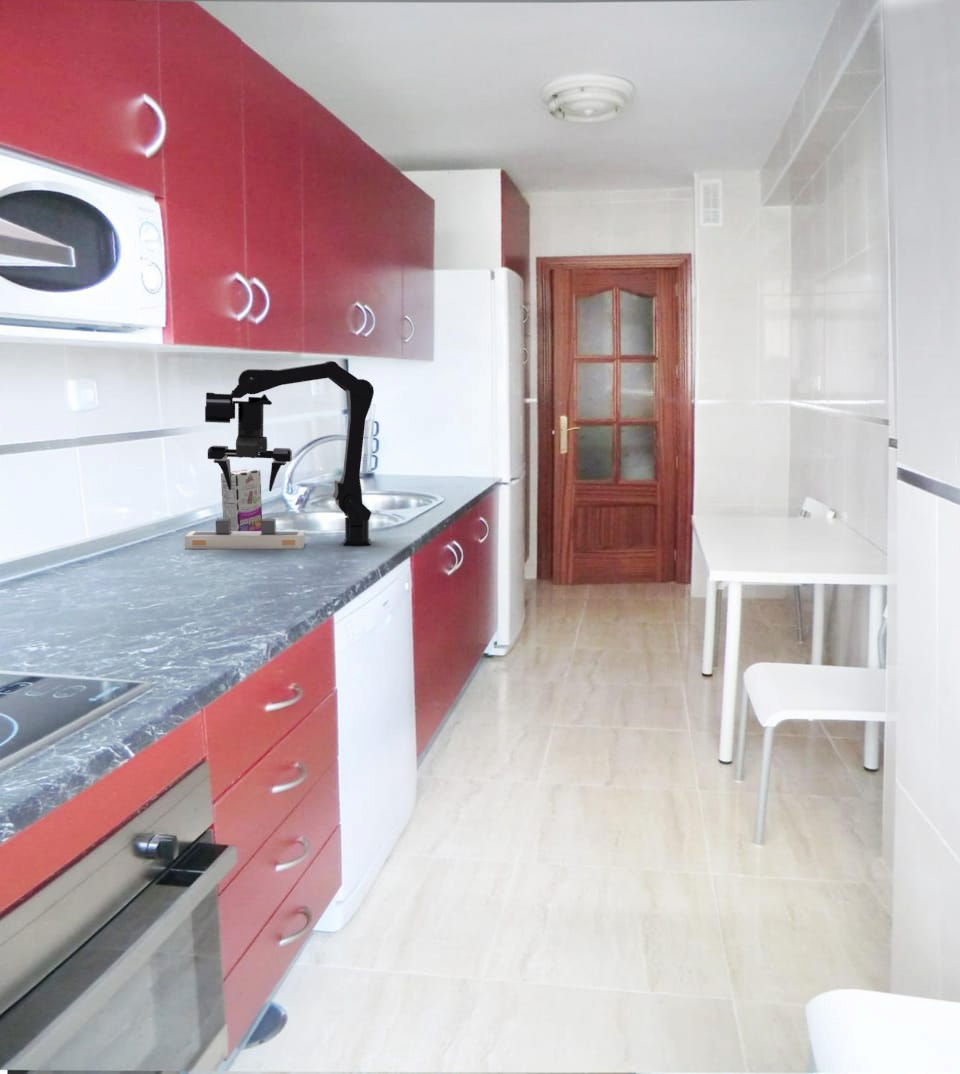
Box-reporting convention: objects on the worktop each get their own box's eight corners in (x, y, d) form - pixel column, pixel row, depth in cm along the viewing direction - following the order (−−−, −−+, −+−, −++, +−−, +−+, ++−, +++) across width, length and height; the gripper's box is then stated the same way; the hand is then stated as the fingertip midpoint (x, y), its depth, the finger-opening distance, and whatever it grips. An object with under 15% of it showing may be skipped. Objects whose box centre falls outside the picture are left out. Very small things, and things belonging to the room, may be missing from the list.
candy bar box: (246, 531, 242) (244, 468, 239) (263, 532, 240) (261, 469, 237) (221, 538, 231) (219, 472, 228) (239, 539, 230) (237, 473, 227)
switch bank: (191, 543, 223) (190, 530, 222) (305, 543, 226) (305, 530, 225) (184, 549, 215) (184, 535, 215) (302, 548, 218) (302, 535, 218)
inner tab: (263, 531, 222) (262, 518, 222) (275, 531, 222) (275, 518, 222) (261, 533, 219) (261, 520, 219) (274, 533, 219) (274, 520, 219)
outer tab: (218, 531, 221) (217, 518, 220) (231, 531, 221) (230, 518, 221) (216, 533, 218) (215, 520, 217) (229, 533, 218) (228, 520, 218)
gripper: (203, 423, 206) (203, 493, 209) (288, 427, 209) (288, 495, 211) (211, 421, 217) (211, 487, 220) (292, 424, 220) (291, 490, 222)
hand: (250, 490), depth 218 cm, fingers open, 9 cm apart
